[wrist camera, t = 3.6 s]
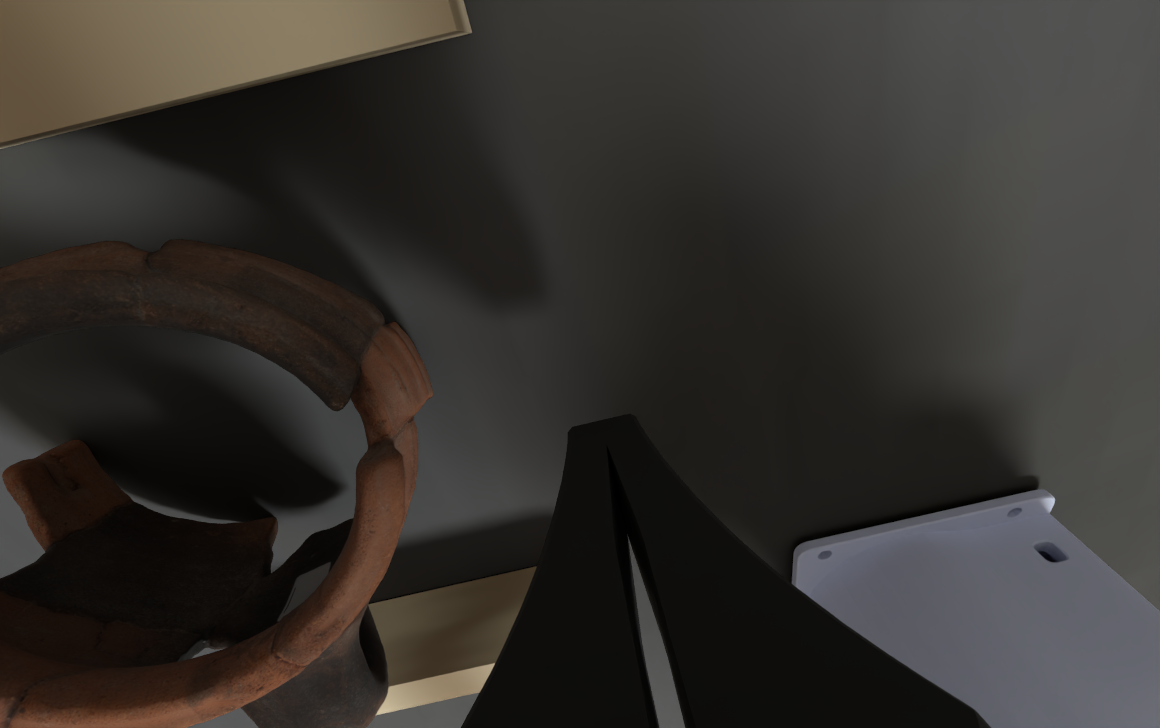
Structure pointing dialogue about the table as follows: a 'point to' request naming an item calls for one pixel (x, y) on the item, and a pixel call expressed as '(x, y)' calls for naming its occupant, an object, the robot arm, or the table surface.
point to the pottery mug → (198, 549)
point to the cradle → (218, 66)
